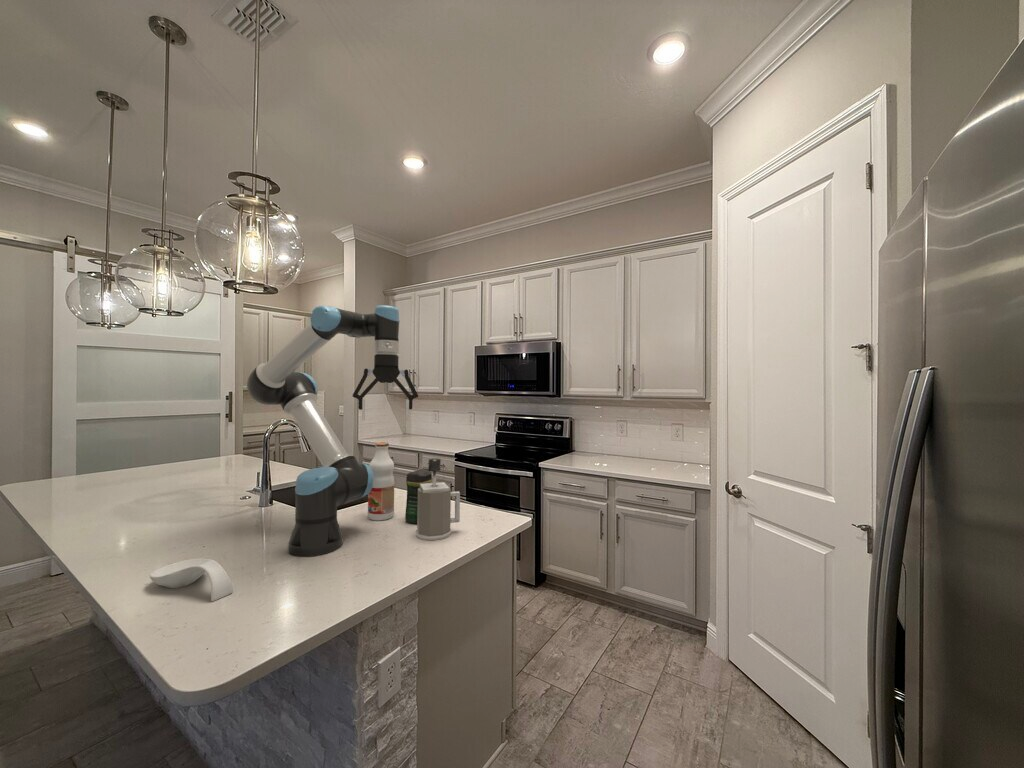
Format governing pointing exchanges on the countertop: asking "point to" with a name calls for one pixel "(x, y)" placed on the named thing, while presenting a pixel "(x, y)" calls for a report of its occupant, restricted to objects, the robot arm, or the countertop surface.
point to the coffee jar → (415, 492)
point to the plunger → (434, 468)
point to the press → (436, 511)
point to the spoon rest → (194, 576)
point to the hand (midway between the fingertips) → (385, 419)
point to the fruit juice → (381, 484)
